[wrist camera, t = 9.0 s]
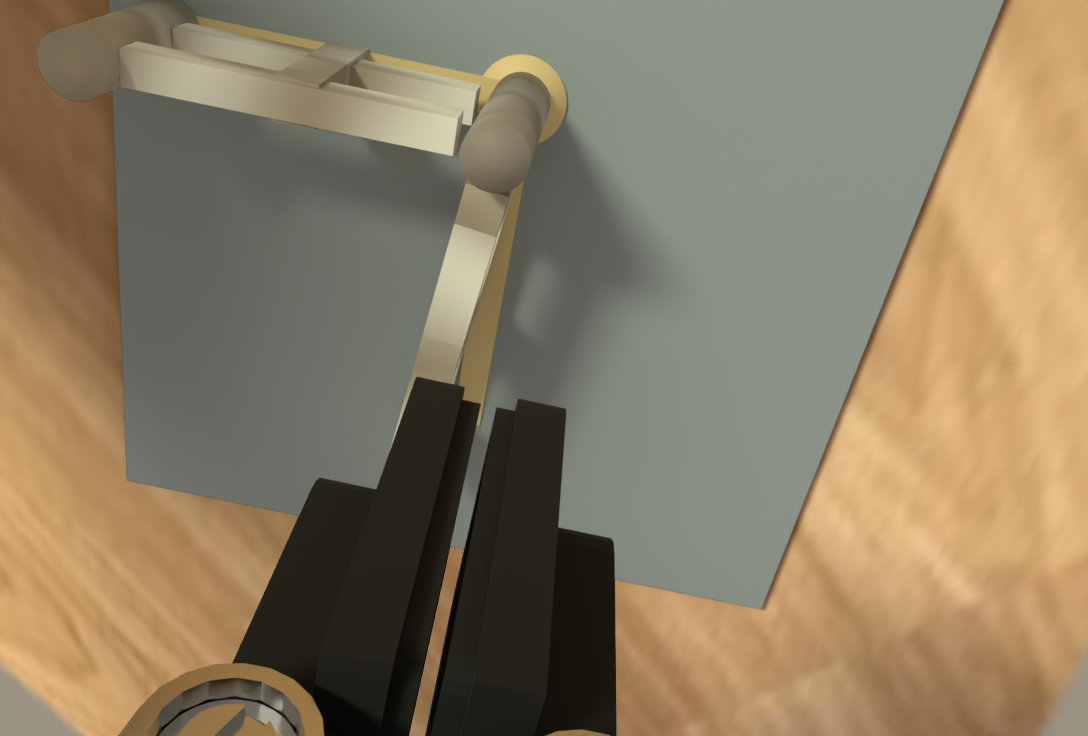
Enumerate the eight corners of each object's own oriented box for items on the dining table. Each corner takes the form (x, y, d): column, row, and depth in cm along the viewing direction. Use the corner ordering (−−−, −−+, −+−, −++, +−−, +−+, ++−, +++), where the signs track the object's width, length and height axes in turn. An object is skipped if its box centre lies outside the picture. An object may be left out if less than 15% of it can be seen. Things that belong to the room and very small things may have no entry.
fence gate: (490, 136, 29) (465, 182, 25) (526, 148, 30) (508, 197, 25) (409, 415, 35) (378, 492, 30) (440, 424, 35) (413, 503, 30)
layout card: (131, 474, 38) (125, 481, 38) (98, -483, 24) (88, -489, 23) (759, 602, 39) (761, 611, 38) (1103, -266, 24) (1112, -268, 24)
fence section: (145, 51, 30) (30, 97, 24) (143, -9, 29) (24, 24, 23) (544, 135, 30) (523, 199, 24) (555, 77, 29) (535, 131, 23)
